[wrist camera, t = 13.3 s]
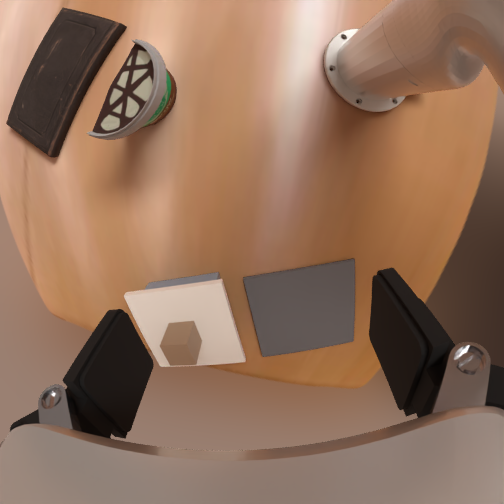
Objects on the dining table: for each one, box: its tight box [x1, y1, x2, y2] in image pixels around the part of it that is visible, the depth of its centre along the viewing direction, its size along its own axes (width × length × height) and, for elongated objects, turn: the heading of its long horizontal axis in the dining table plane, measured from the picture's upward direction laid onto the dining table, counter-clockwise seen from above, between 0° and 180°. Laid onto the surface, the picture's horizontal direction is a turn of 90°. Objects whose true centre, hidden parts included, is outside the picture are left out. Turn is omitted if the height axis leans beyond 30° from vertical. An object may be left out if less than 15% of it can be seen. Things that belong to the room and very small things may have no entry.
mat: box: [243, 259, 355, 357], centre depth 44 cm, size 17×17×1 cm
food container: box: [87, 39, 177, 140], centre depth 26 cm, size 12×6×10 cm, turn 150°
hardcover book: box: [6, 8, 127, 157], centre depth 27 cm, size 16×23×2 cm
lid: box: [124, 279, 246, 367], centre depth 37 cm, size 15×15×6 cm
